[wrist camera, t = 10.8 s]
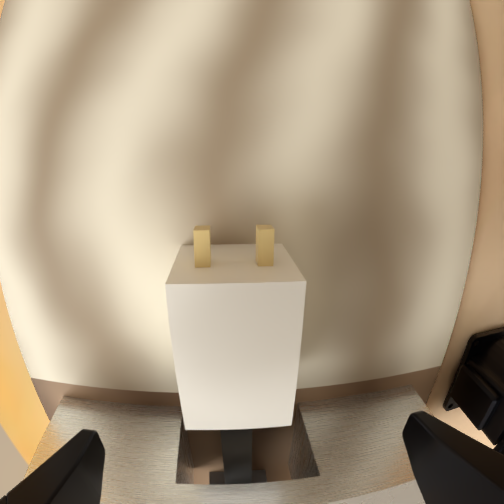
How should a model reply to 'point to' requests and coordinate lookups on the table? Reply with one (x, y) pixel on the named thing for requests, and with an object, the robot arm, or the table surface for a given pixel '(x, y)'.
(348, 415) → the motor housing
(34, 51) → the base board
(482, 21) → the table surface
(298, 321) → the plug
